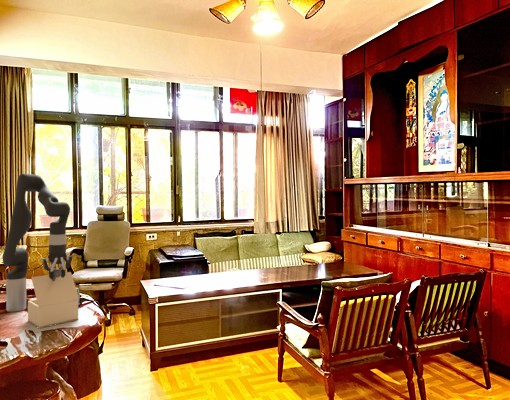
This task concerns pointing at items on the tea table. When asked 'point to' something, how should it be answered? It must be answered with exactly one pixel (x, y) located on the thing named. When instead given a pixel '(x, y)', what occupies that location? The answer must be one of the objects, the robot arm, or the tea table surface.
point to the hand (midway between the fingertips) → (57, 277)
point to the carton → (52, 313)
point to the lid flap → (54, 288)
